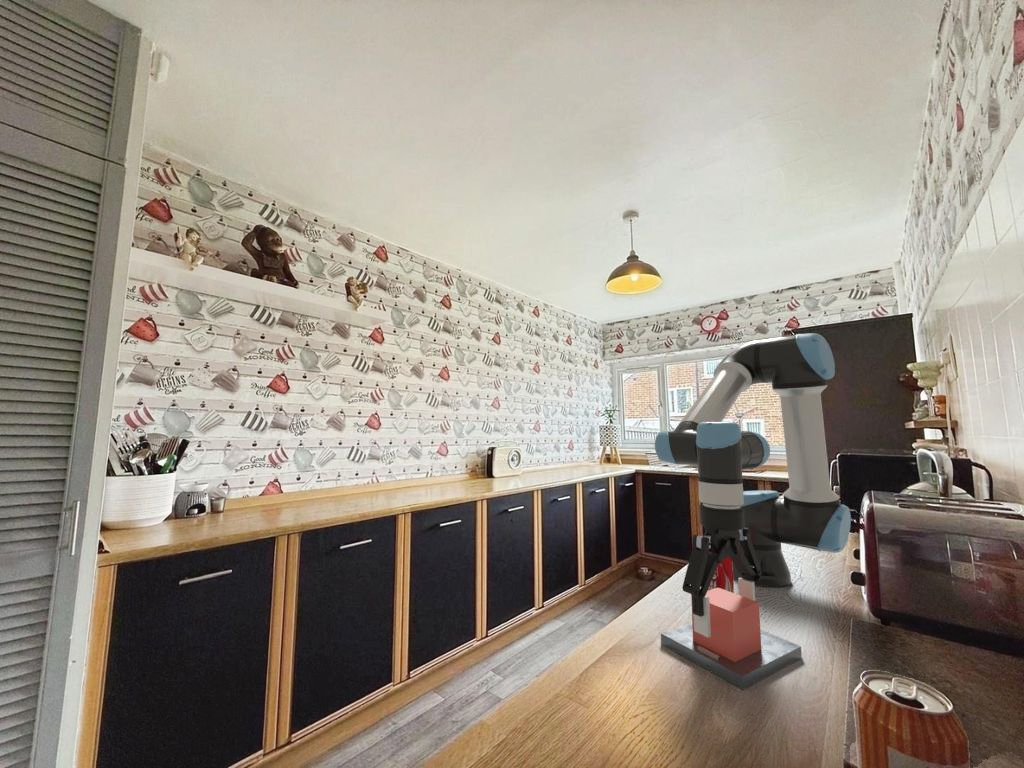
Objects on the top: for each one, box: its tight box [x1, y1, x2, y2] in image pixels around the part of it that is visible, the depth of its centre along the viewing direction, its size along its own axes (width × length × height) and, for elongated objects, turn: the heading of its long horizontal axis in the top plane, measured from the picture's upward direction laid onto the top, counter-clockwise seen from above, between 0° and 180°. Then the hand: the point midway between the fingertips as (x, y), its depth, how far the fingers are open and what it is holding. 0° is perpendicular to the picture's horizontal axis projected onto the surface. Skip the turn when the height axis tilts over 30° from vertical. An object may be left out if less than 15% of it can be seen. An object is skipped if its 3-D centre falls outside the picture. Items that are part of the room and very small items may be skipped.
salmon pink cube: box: [690, 588, 761, 662], centre depth 77 cm, size 8×8×8 cm
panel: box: [660, 621, 803, 690], centre depth 79 cm, size 18×16×3 cm
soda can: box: [708, 552, 735, 593], centre depth 102 cm, size 7×7×12 cm
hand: (726, 624), depth 77 cm, fingers open, 13 cm apart
